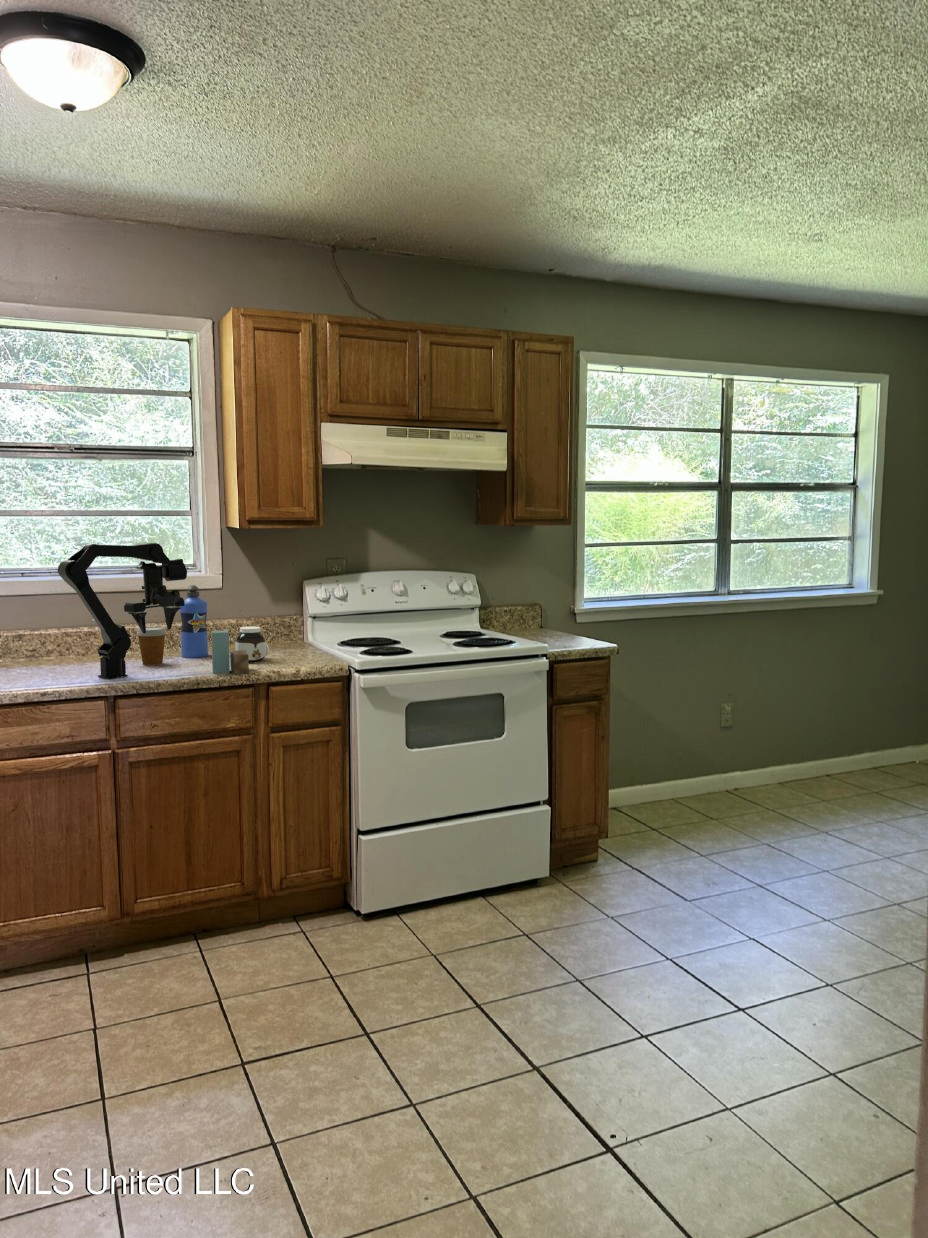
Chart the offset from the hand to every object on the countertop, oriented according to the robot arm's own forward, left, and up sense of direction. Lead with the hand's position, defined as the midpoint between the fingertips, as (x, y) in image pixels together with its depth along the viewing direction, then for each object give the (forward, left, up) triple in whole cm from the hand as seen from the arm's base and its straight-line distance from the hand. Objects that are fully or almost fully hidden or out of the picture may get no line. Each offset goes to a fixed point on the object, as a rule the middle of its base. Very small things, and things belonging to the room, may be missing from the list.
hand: (156, 631), depth 294 cm
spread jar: (+34, -6, -13) cm, 37 cm away
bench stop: (+17, -19, -13) cm, 29 cm away
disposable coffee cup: (+8, +14, -13) cm, 21 cm away
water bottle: (+27, +17, -13) cm, 34 cm away
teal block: (+12, -16, -13) cm, 24 cm away
